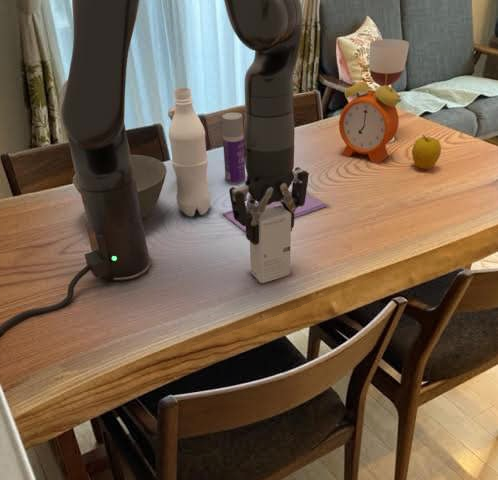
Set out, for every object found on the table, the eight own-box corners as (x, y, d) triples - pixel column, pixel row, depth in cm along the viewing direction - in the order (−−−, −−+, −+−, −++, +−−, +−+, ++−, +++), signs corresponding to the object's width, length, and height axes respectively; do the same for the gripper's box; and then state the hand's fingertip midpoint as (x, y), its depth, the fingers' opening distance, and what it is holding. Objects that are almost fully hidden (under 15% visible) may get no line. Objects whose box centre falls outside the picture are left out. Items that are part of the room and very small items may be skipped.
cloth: (247, 234, 108) (247, 232, 107) (222, 214, 114) (222, 213, 114) (326, 206, 116) (326, 205, 115) (298, 190, 122) (299, 188, 122)
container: (243, 185, 125) (240, 119, 116) (223, 183, 126) (219, 119, 116) (247, 176, 129) (244, 112, 119) (228, 175, 129) (224, 111, 120)
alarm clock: (335, 153, 137) (341, 70, 125) (347, 146, 141) (354, 64, 128) (383, 165, 131) (394, 78, 118) (394, 156, 135) (406, 71, 122)
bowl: (89, 200, 122) (79, 157, 115) (173, 194, 122) (167, 151, 116) (76, 243, 107) (64, 197, 101) (171, 235, 108) (165, 189, 102)
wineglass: (401, 134, 146) (414, 40, 132) (387, 146, 140) (400, 50, 125) (369, 128, 150) (379, 37, 136) (354, 140, 144) (363, 46, 129)
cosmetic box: (261, 284, 94) (260, 223, 86) (249, 272, 97) (247, 211, 89) (291, 274, 96) (293, 213, 89) (278, 262, 99) (279, 202, 92)
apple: (404, 164, 131) (409, 132, 126) (428, 161, 132) (434, 128, 127) (417, 175, 126) (423, 141, 121) (442, 171, 127) (449, 138, 122)
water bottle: (194, 200, 120) (182, 81, 104) (218, 209, 116) (209, 87, 100) (171, 212, 116) (154, 91, 100) (195, 222, 112) (182, 98, 96)
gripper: (293, 122, 87) (291, 215, 97) (215, 143, 81) (222, 239, 92) (322, 136, 82) (317, 233, 92) (241, 159, 76) (246, 259, 87)
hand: (270, 236), depth 92 cm, fingers closed on cosmetic box, 6 cm apart
